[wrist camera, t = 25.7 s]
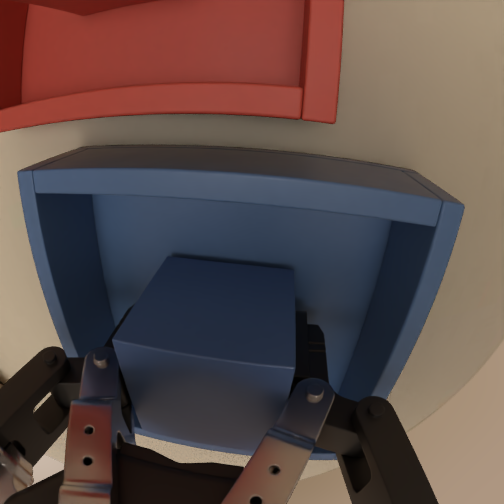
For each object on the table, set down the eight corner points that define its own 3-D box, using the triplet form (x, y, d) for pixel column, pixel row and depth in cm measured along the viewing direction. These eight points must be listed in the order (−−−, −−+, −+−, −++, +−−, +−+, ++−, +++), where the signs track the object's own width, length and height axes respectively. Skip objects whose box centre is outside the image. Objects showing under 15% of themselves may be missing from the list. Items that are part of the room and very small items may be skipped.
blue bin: (415, 170, 11) (466, 205, 7) (342, 402, 17) (348, 460, 13) (81, 146, 12) (16, 171, 8) (123, 372, 18) (97, 422, 14)
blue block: (294, 269, 12) (295, 368, 8) (279, 361, 14) (273, 453, 10) (167, 255, 12) (110, 339, 8) (175, 347, 15) (142, 431, 10)
